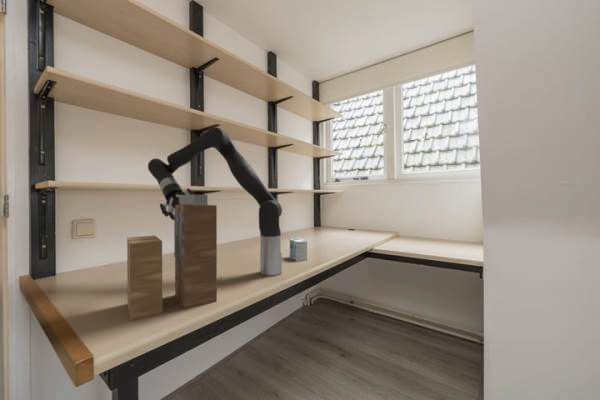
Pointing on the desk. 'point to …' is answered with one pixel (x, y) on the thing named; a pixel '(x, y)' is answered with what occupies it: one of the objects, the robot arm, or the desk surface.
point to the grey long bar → (193, 200)
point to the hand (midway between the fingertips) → (184, 213)
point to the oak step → (144, 276)
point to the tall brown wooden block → (195, 254)
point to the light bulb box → (298, 249)
